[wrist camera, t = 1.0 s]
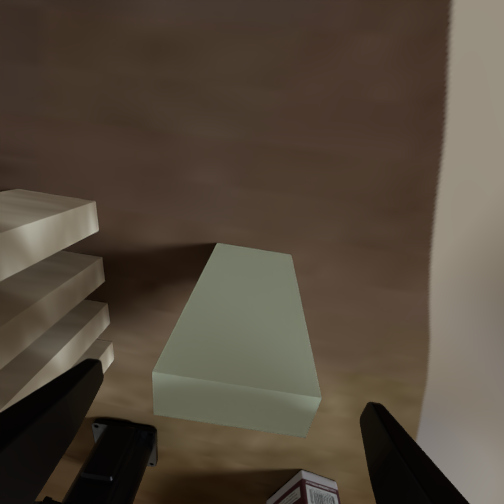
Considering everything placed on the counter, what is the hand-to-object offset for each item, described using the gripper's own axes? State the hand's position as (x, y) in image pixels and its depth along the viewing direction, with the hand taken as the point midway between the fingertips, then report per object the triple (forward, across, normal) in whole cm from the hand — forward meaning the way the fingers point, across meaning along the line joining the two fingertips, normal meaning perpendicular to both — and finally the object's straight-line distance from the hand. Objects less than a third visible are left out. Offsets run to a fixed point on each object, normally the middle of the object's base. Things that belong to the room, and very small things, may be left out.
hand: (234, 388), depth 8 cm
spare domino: (+9, 0, 0) cm, 9 cm away
